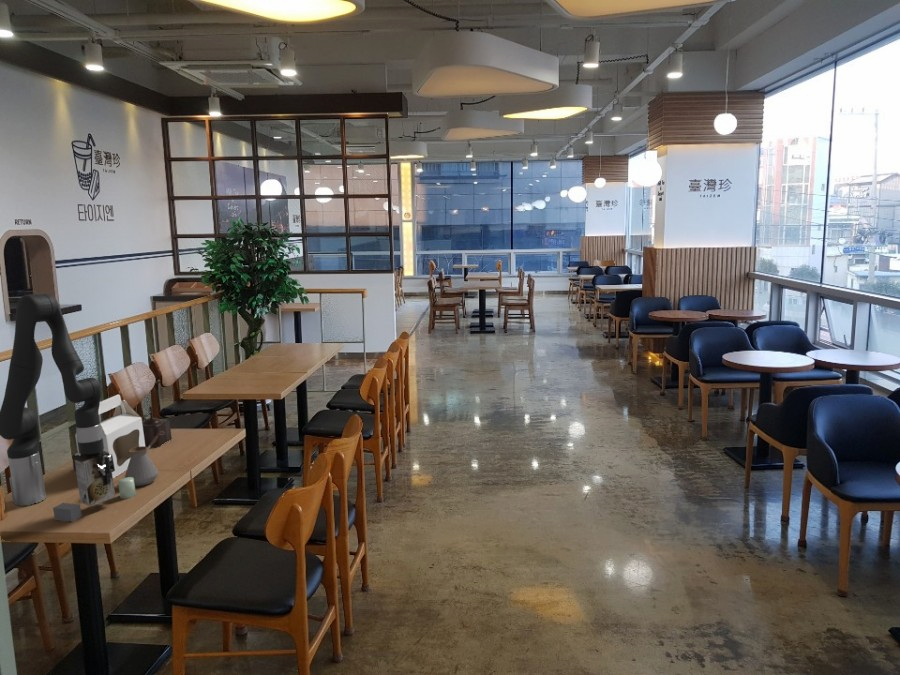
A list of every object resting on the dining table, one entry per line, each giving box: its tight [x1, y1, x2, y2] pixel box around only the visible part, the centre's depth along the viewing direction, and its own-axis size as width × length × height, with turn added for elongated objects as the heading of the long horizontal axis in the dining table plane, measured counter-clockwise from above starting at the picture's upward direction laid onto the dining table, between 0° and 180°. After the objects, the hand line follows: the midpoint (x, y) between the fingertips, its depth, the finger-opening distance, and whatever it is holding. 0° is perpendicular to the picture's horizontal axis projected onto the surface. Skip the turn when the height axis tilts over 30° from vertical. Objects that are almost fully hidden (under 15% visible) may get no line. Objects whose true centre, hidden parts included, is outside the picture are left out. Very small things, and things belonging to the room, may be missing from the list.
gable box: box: [74, 394, 145, 479], centre depth 268 cm, size 22×13×28 cm, turn 170°
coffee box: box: [74, 451, 116, 507], centre depth 231 cm, size 9×6×16 cm
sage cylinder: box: [117, 477, 137, 500], centre depth 242 cm, size 5×5×6 cm
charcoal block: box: [52, 502, 83, 523], centre depth 226 cm, size 7×4×4 cm, turn 74°
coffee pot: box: [124, 431, 165, 487], centre depth 258 cm, size 21×12×15 cm, turn 170°
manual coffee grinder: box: [133, 406, 173, 448], centre depth 295 cm, size 16×11×18 cm
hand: (96, 483), depth 232 cm, fingers closed on coffee box, 8 cm apart
